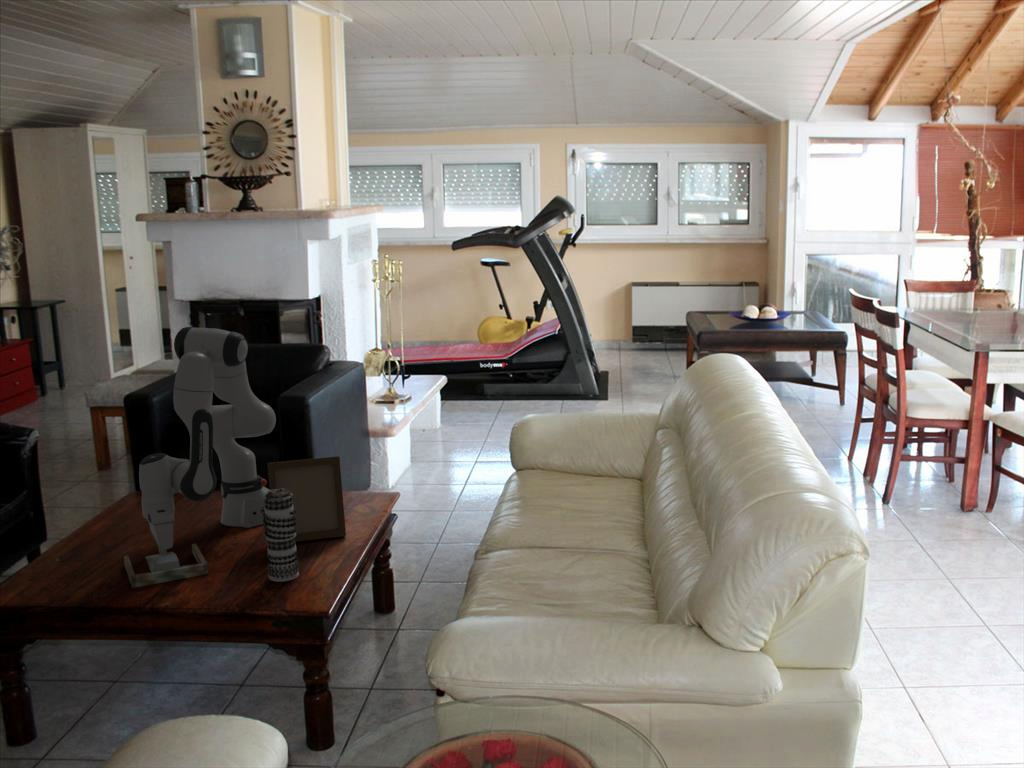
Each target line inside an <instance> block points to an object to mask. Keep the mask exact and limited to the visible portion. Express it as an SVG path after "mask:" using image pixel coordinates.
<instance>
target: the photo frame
mask: <svg viewBox="0 0 1024 768" xmlns="http://www.w3.org/2000/svg"><path fill="white" fill-rule="evenodd" d="M340 459H341V458H340V456H339V455H337V456H329V457H317V458H307V459H306V458H305V459H296V460H294V459H293V460H284V461H275V462H274V461H273V462H267V463H266V464H267V475H268V476H267V477H268V487H269V488H268V489H269V490H272V489H277V488H284V489H287V490H289V492H290V493H292V494H293V496H292V504H293V509H295V510H296V513H294V514H293V516H295V517H296V520H294V521H295V522H296V525H295V526H294V528H295V529H296V536H295V543H296V542H304V541H315V540H320V539H321V540H322V539H330V538H339V537H340V538H341V537H345V536H347V532H346V519H345V509H344V508H345V507H344V506H345V505H344V497H343V495H344V494H343V485H342V483H343V482H342V474H341V473H342V472H341V460H340Z"/></svg>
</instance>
